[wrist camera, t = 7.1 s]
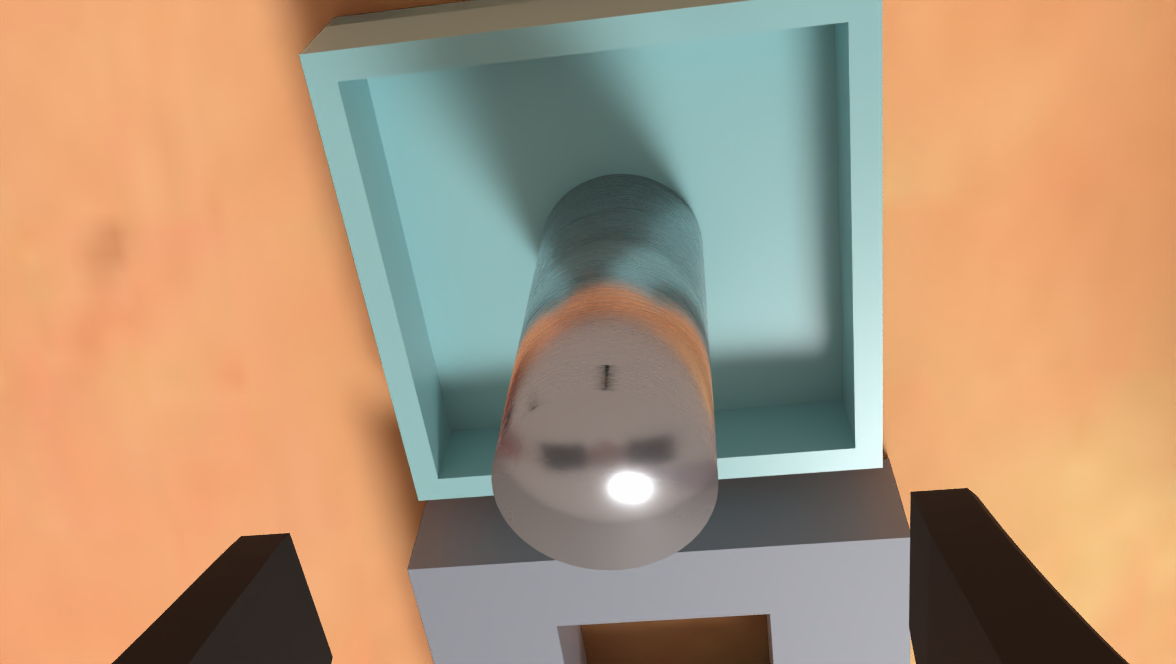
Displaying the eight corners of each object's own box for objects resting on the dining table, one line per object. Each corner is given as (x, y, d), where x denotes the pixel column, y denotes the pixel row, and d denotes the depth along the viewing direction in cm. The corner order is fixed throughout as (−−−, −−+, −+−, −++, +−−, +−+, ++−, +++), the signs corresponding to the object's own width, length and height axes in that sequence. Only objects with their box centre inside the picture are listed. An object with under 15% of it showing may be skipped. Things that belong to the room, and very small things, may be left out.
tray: (859, -48, 18) (882, -16, 16) (864, 402, 23) (883, 467, 21) (333, 17, 19) (298, 54, 18) (437, 435, 24) (418, 500, 22)
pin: (696, 166, 20) (709, 382, 14) (708, 312, 21) (725, 564, 15) (530, 182, 20) (472, 399, 14) (553, 324, 22) (511, 575, 16)
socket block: (888, 458, 24) (912, 537, 21) (888, 716, 28) (907, 804, 25) (429, 491, 25) (407, 569, 23) (492, 735, 29) (479, 820, 27)
